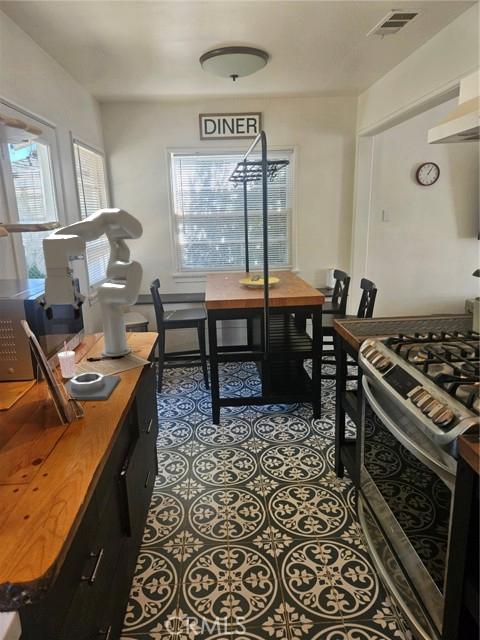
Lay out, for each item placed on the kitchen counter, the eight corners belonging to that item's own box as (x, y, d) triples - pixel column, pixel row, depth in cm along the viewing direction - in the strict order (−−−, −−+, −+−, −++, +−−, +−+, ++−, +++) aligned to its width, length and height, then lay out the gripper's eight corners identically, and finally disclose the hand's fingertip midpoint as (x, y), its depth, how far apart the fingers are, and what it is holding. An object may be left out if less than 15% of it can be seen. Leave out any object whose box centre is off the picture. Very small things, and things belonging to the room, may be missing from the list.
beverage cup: (58, 379, 155) (54, 344, 152) (62, 373, 161) (58, 339, 158) (75, 378, 156) (71, 343, 153) (79, 372, 162) (75, 338, 158)
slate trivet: (72, 379, 155) (72, 376, 154) (120, 378, 155) (120, 375, 155) (52, 400, 137) (52, 397, 137) (106, 399, 138) (106, 396, 137)
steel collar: (78, 380, 151) (78, 372, 150) (107, 379, 151) (106, 372, 150) (67, 392, 141) (66, 384, 140) (98, 391, 141) (97, 383, 140)
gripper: (86, 270, 149) (91, 315, 153) (37, 271, 148) (44, 317, 153) (79, 273, 142) (84, 321, 146) (28, 274, 141) (35, 322, 145)
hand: (64, 319), depth 149 cm, fingers open, 9 cm apart
